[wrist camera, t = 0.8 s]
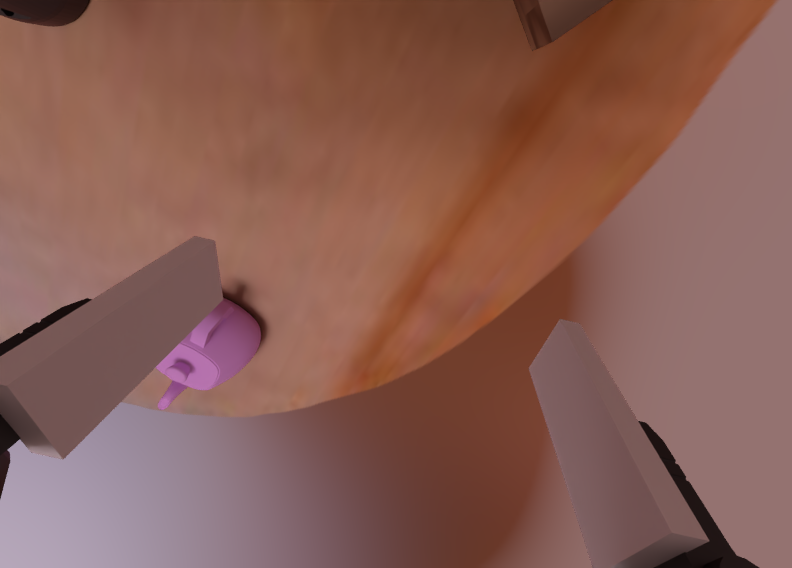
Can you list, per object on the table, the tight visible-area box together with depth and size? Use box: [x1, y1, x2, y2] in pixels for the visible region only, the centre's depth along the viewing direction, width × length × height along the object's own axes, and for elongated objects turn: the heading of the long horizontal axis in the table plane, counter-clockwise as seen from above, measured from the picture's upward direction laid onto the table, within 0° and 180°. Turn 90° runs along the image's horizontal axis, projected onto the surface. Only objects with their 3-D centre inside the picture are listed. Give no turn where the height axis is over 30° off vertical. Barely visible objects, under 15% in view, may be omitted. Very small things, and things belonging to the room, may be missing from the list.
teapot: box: [156, 298, 261, 410], centre depth 46 cm, size 13×20×11 cm
